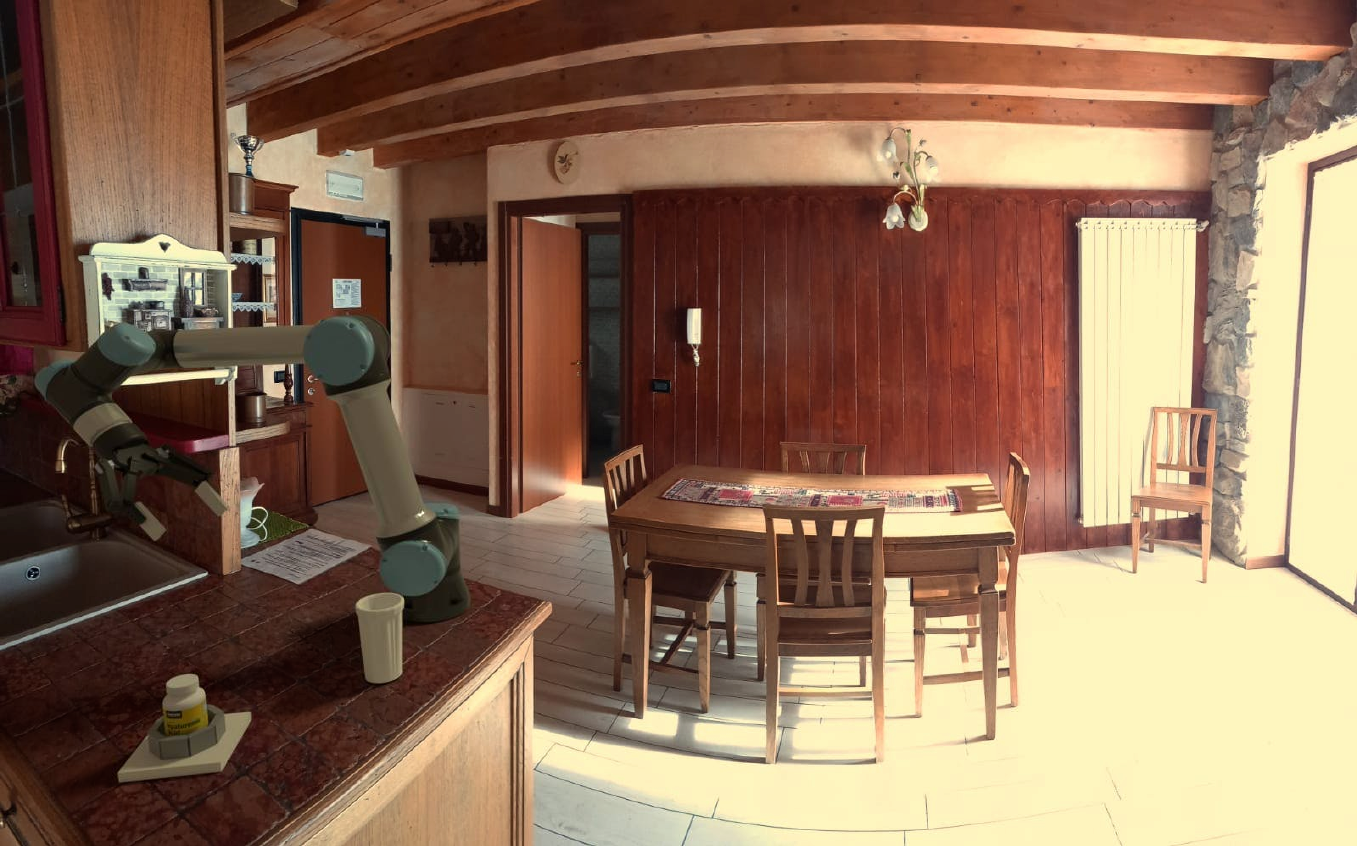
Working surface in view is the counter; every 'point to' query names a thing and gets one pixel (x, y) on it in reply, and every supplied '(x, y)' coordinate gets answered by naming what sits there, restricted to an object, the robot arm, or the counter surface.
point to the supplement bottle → (184, 706)
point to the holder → (186, 748)
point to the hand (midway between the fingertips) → (193, 522)
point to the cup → (381, 635)
